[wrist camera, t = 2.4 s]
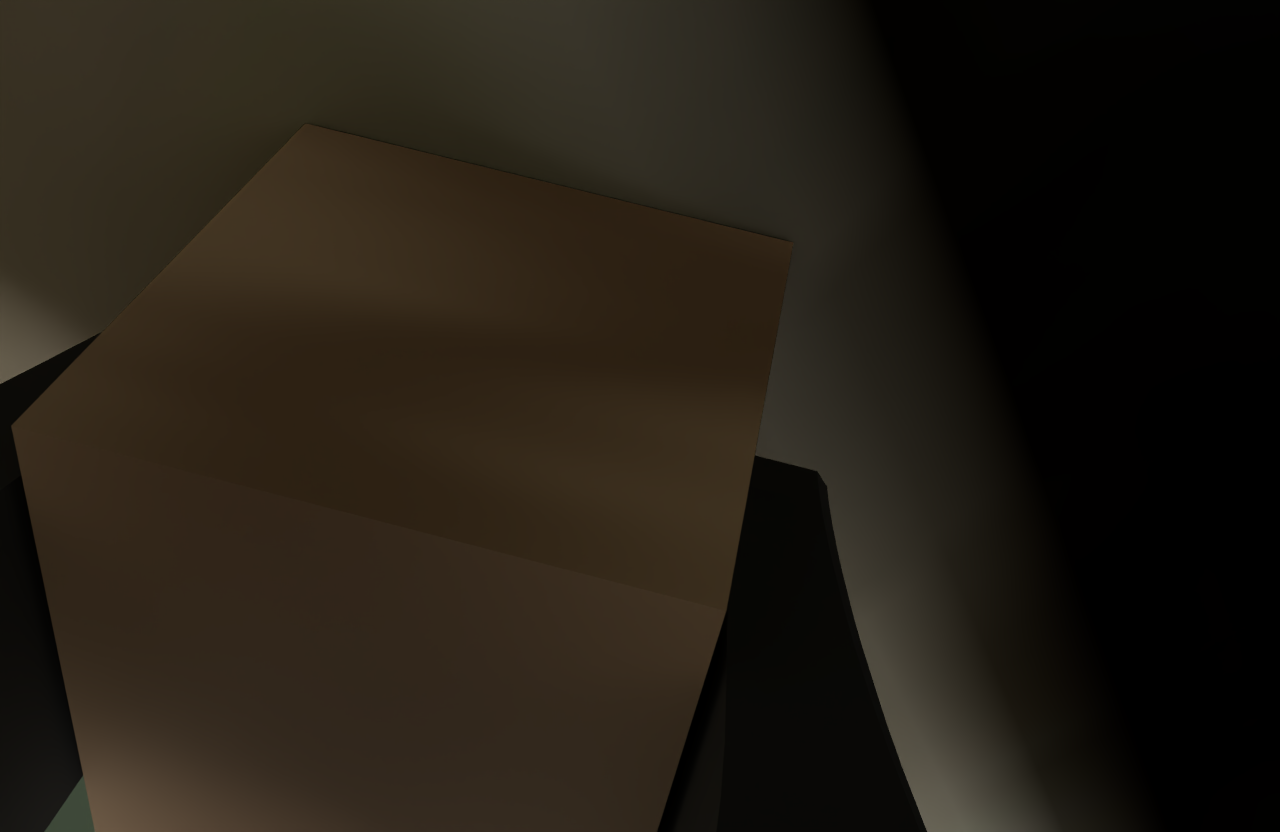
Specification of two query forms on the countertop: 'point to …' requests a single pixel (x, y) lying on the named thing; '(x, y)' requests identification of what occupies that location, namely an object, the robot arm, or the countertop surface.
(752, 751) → the robot arm
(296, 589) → the walnut block
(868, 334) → the countertop surface
